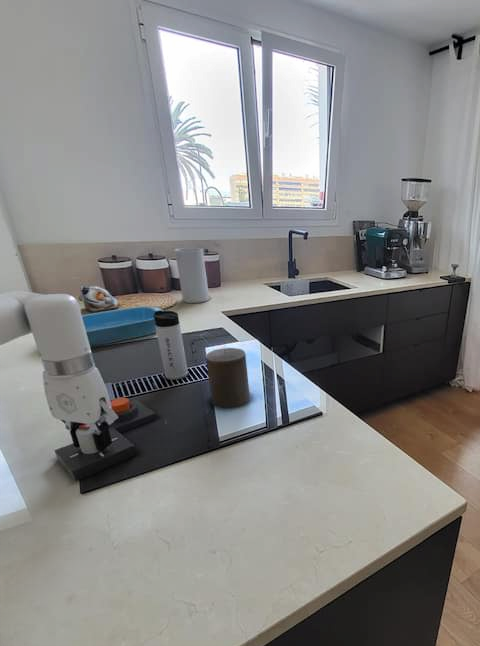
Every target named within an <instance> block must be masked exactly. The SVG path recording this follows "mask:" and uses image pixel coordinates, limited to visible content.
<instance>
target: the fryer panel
mask: <svg viewBox="0 0 480 646" xmlns="http://www.w3.org/2000/svg"><path fill="white" fill-rule="evenodd" d="M109 433H110V436H111V440H112V444H111V445H109V446H108V447H106V448H105V449H104V450H102V451H99V452H97V453H93V454H84V453H83V452H82V451H81V448H80V447H78V448H77V447H75V446H74V443H73V442H72V443H70V444H68V445H65V446H62V447H60V448H57V449H55V450H54V453H55V456H56V459H57V461H58V462H59V463H60V465H61V466H62V467H63V468H64V470H65V471H66V472H67V473H68V474H69V476H70V477H71V478H72V479H73V481H74V482H78V481H80V480H83V479H85V478H87V477H89V476H92V475H94V474H96V473H98V472H100V471H103V470H106V469H108V468H110V467H112V466H115V465H117V464H119V463H122V462H124V461H126V460H128V459H130V458H132V457H135V456H136V455H137V453H136V452H137V451H136V449H135V445H134V444H133V443H132V442H130V441H129V440H128V439H127V438H126V437H125V436H124V435H122V434H121V433H119V432H118V431H116V430H115V429H114V428H112V429H110V430H109Z"/></svg>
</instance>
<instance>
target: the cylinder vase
mask: <svg viewBox="0 0 480 646" xmlns="http://www.w3.org/2000/svg"><path fill="white" fill-rule="evenodd" d="M174 252H175V259H176V265H177V272H178V278H179V283H180V284H179V285H180V291H181V297H182V301H183V302H184V303H188V304H200V303H201V304H202V303H205V302H208V301H209V300H210V294H209V287H208V285H209V284H208V277H207V271H206V262H205V256H204V249H203V248H198V247H183V248H181V247H180V248H176V249H174Z"/></svg>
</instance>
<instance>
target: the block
mask: <svg viewBox="0 0 480 646" xmlns="http://www.w3.org/2000/svg"><path fill="white" fill-rule="evenodd" d="M129 404H130V409H129V410H127V411H125V412H122V413H115V414H116V415H117V416H118V417H119V419H118V420H116V421H115V422H114V423H112V425H111V426H110V428H108V429H109V430H110V429H112V428H114V429H115V430H116V431H118V432H119V433H120V434H121V433H123V432H126V431H129V430H132V429H134V428H136V427H138V426H142V425H144V424H146V423H149V422H152V421H154V420H157V415H156V412H155V411H153V410H152V409H151V408H149V407H148V406H147V405H145V404H144V403H142V402H140V400H138V399H135V400H132V401H130V400H129ZM97 423H99V424H101V423H102V422H101V420H98V421H97Z"/></svg>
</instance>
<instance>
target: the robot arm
mask: <svg viewBox="0 0 480 646" xmlns="http://www.w3.org/2000/svg"><path fill="white" fill-rule="evenodd" d="M82 315H83V314H82V311H81V307H80V304H79V301H78V300H77V299H76V298H75V297H74V296H73V295H70V294H66V293H48V294H42V293H36V292H31V291H25V290H12V291H11V290H10V291H7V292H3V293H0V346H3V345H5V344H7V343H9V342H12V341H14V340H17V339H18V338H20V337H21V338H22V337H24V336H26V335H29V334H32V337H33V339H34V342H35V345H36V348H37V349H36V350H37V351H38V354H39V357H40V361H41V363H42V366H43V369H44V370H43V371H42V381H43V388H44V395H45V398H46V402H47V404H48V405H47V406H48V409H49V412H50V414H51V417H53V418H55V419H57V420H60V421H61V422H62V423H63V424H64V426H65V429H66V430H67V431H69V435H70V437H71V440H72V444H73V443H74V446H75V447H77V448H78V447H80V445H79V441H78V438H77V435H76V430H77V429H78V428H79V426H80V425H82V426H84V425H86V424H90V425H91V427H92V428H93V430H94V432H95V434H93V438H94V442H95V445H96V448H97V451H102V450H104V449H105V448H106V447H108V446H109V445H111V444H112V440H111V436H110V433H109V429H108V428H110V426H111V425H112V423H114V422H115V421H116V420H118V419H119V417H118V416H117V415H116V414H115V412H114V411H113V410H112V407H111V402H110V401H111V399H110V396H109V392H108V390H107V387H106V385H105V381H104V379H103V378H102V377H103V376H102V375H101V373H100V371H99V368H98V367H96V363H95V360H94V357H93V353H92V350H91V349H92V348H91V347H90V345H89V341H88V337H87V334H86V330H85V326H84V322H83V319H82ZM98 420H101V422H102V423H101V424H100V425H98V423H97V421H98Z"/></svg>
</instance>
